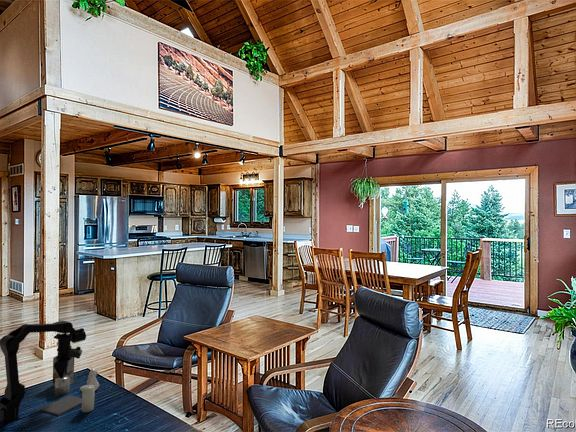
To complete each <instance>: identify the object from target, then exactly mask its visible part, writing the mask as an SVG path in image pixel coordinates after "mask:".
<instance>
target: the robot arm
mask: <svg viewBox="0 0 576 432" xmlns="http://www.w3.org/2000/svg"><path fill="white" fill-rule="evenodd" d="M50 332H53V333H56V335H54V336H53V339H55V340H57V349H56V352H57V354H56V356H57V359H59V360H56V361H55V363H54V368H55V370H56V371H57V373H58V375H59V377H60V379H61V378H63V375H64V372H66V368H67V367H68V365H69V360H70V359H71V358H72V357H74V359H80V358H81V355H82V354H83V350H82V349H81V346H77V347H74V348H72V345H71V343H72V344H76V343H79V342H83V341H85V340H86V339H87V333H86V331H85V329H84V328H83V327H82V328H81V327H80V328H77V329H75V328H74V326H73V323H72V322H70V321H66V320H59V321H55V322H53V323H30V324H28V323H24V324H22V325H20V326H19V327H18V328H16V329H14V330H12V331H11V332H9V333H8V334H6V335H4V336H2V337H1V338H0V350H1V352H2V353H3V356H4V363H5V373H6V375H5V376H6V386H5V389H4V395H3V396H2V398H1V399H0V407H1V408H0V424H2V425H8V424H10V423H13V422H15V421H17V420H19V419H21V418H20V416H19V413H20V411H19V410H20V405H21V402H22V401H23V400H24V398H25V394H26V391H25V389H26V385H24V384H22V383H21V382H20V377H19V368H18V367H19V365H18V357H17V354H18V352H19V349H20V343H22V342H23V341H25V339H26V337H28V335H29V334H31V333H32V334H33V333H50Z"/></svg>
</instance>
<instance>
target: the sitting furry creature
mask: <svg viewBox="0 0 576 432" xmlns="http://www.w3.org/2000/svg"><path fill="white" fill-rule="evenodd" d="M98 373H99V372H98V370H97V369H95V368H91V369H90V371H89V373H88V378H87V380H86V385H82V386H81V387H80V388H79V391H80V392H82V388H83V387H84V386H87V385H94V386H95V391H97V390H98V389H99V387H100V383H99V381H98V379H97V377H96V376H97V375H98Z"/></svg>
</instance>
